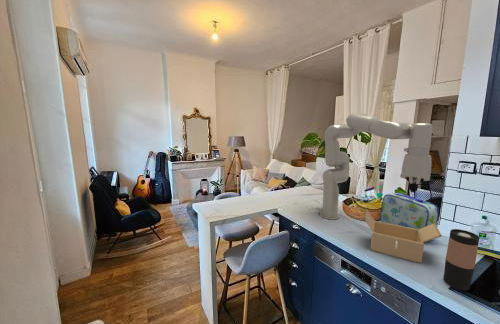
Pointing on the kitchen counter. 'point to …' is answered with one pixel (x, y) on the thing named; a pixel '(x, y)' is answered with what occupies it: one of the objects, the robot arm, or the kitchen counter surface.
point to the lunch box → (408, 211)
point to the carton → (397, 241)
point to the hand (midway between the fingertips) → (412, 191)
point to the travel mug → (460, 258)
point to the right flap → (429, 232)
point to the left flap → (369, 219)
